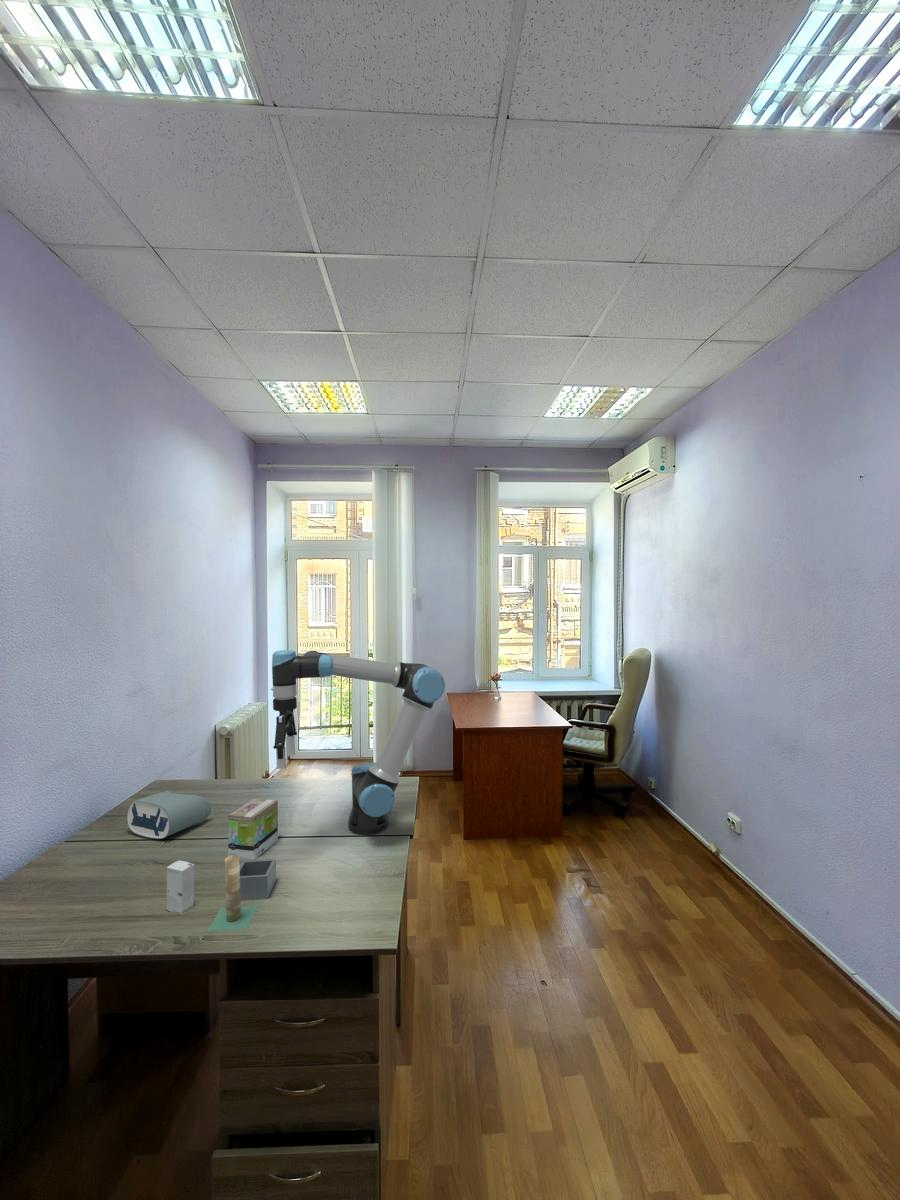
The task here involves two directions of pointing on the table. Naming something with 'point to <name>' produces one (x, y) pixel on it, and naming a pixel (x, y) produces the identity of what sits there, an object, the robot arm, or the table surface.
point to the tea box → (253, 828)
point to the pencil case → (166, 814)
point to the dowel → (232, 888)
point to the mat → (242, 923)
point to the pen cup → (257, 879)
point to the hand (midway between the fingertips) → (286, 761)
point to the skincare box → (180, 886)
